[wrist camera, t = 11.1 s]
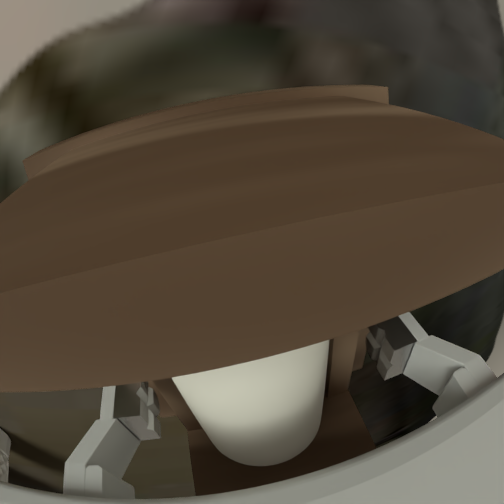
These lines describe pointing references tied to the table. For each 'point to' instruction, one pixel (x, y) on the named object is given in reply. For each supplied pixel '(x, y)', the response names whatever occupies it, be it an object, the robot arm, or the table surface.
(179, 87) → the table surface
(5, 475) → the white cup
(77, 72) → the table surface
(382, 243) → the roll holder
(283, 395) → the paper roll
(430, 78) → the table surface
